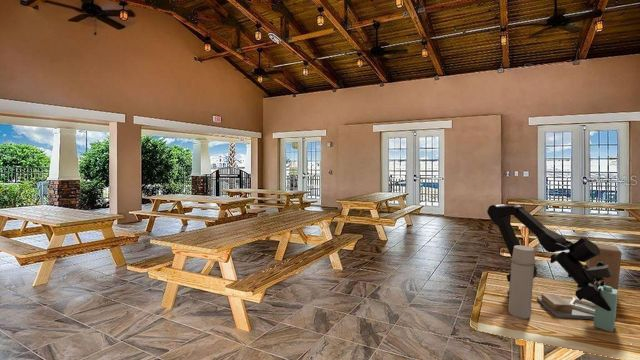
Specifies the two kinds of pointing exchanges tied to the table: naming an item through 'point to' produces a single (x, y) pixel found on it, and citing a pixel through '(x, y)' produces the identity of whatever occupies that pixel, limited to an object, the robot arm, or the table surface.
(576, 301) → the baseboard
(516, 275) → the water bottle
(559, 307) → the walnut base slab
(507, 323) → the table surface
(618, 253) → the wooden block
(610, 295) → the teal post
